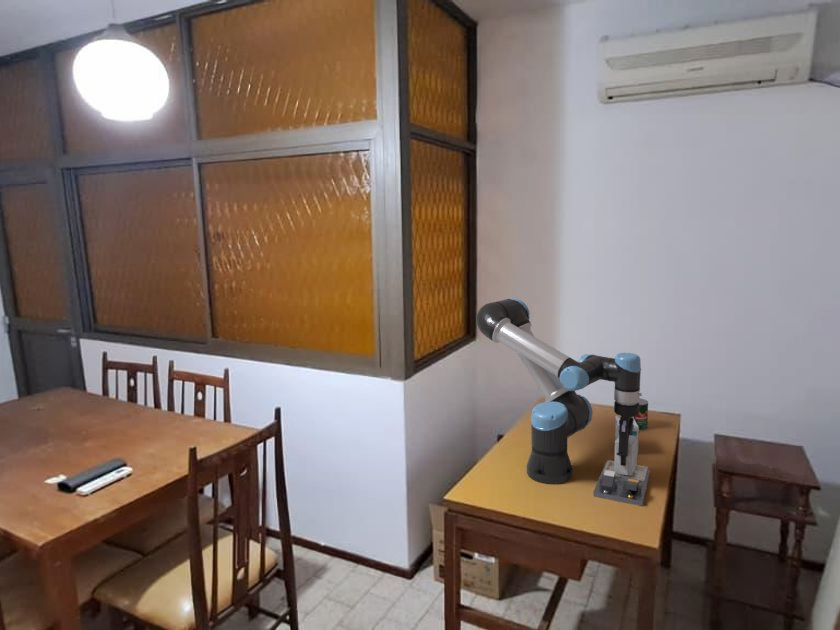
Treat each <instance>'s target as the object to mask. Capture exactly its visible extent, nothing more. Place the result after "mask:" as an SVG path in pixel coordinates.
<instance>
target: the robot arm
mask: <svg viewBox="0 0 840 630" xmlns="http://www.w3.org/2000/svg"><path fill="white" fill-rule="evenodd" d="M475 322H476V325H477V329H478V330H479V331H480V332H481V334H483V336H484V337H486V338H487V339H489V340H491V341H492V342H494V343H497V344H498V343H501V344H503V345H505V346H506V347H508V348H509V349H511V350H513V351H514V352H516V353H517V355H518V357H519V359H520V360H521V362H522V364H523V365H524V367H525V368H526V369H527V371H528V372H529V373H528V374H530V376H531V378H532V379H533V380H534V382H535V384H536V385H537V387H538V389H539V390H540V392H541V394H542V396H543V397H544V398H545V399H544V402H540V403H538V404H535V406H534V407H533V408H532V411H531V416H530V422H531V424H530V425H531V427H530V428H531V430H530V431H531V451H530V454H529V456H528V461H527V463H526V475H527V474H528V475H527V476H528V477H529V478H530V479H532V480H534V481H536V482H538V483H543V484H552V485H554V484H555V485H556V484H562V483H563V484H564V483H566V482H568V481H570V480H571V479H572V478H573V476H574V475H573V473H574V470H573V465H572V462H571V459H570V455H569V454H568V438H570V437H571V436H573V435H574V434H576V433H578V432H580V431H582V430H584V429H585V428H586V427H587V426H588V425H589V424H590V423H591V421H592V418H593V408H592V405H591V402H590V401H589V400H588V398H587V397H585V396H583V395H580V394H578V393H577V391H579V390H583V389H584V388H586V387H587V386H589V385H592V384H594V383H595V382H598V381H599V380H600V381H601V380H602V381H607V382H613V383H614V391H613V392H614V396H613V398H614V399H613V400H614V404H613V405H614V408H613V409H614V413H615V414H616V416H621V417H620V419H619V450H618V453H617V455H618V456H619V474H624V475H628V443H629V435H633V421H634V418H633V417H634V416H637V415H638V414H639V405H640V404H639V403H638V402H639V399H641V398H640V397H641V396H643V394H642V392H640V390H641V372H642V367H641V357H640V356H639V354H636V353H633V352H632V353H631V352H618V353H617V354H615V357H614V358H613V357H608V356H607V357H606V356H601V355H597V354H596V355H595V354H587V353H586V354H583V355H581V357H580V358H579V359H578V360H575V359H573V358H572V357H570V356H569V355H567V354H565V353H563V352H561V351H560V350H558V349H556V348H555V347H553V346H551V345H549V344H548V343H546V342H545V341H542V340H541V339H539V338H538V337H536V336H535V335H534V334H533V331H531V327H532V322H531V321H530V310H529V307H528V306H527V304H526V303H525V302H523V300H521V299H517V298H504V299H501V300H497V301H494V302H488V303H486V304H484V305H482V306H481V307H480V309H479V310H478V311H477V313H476V321H475Z"/></svg>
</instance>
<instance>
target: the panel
mask: <svg viewBox="0 0 840 630" xmlns="http://www.w3.org/2000/svg"><path fill="white" fill-rule="evenodd" d="M648 467H649V466H646V465H645V466H644V465H639V464H637V466H636V467H635V469H634V471H633V473H632V475H624V474H619V473H618V472H615V480H614V484H613V488H612V491H608V490H603V489H602V487H601V485H602V481H603V477H604V473H605V470H609V471H614V460H611V459H607V461H606V462H605V463H604V466H603V468H602V470H601V473H600V475H599V477H598V480H597V482H596V485H595V487H594V490H593V494H592V495H593V497H596V498H600V499H606V500H610V501H615V502H620V503H621V502H622V503H627V504H629V505H630V504H631V505H636V506H639V507H643V505H644V500H645V497H646V492H647V489H646V488H647V487H648V483H649V479H650V475H651V470H650V469H649V468H648ZM628 479H633V480H639V487H638V489H637V491H634V490H629V489H626V483H627V481H628Z"/></svg>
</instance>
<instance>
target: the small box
mask: <svg viewBox="0 0 840 630" xmlns="http://www.w3.org/2000/svg"><path fill="white" fill-rule="evenodd" d="M637 442H638V443H639V438H638V436H633V435H629V443H628V475H632V473H633V471H634V469H635V467H636V466H637V465H638V455H637ZM618 450H619V436H618V438H617V439H616V441H615V440H614V460H613V461H614V471H615V472H618V473H619V456H618V455H617V453H618Z"/></svg>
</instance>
